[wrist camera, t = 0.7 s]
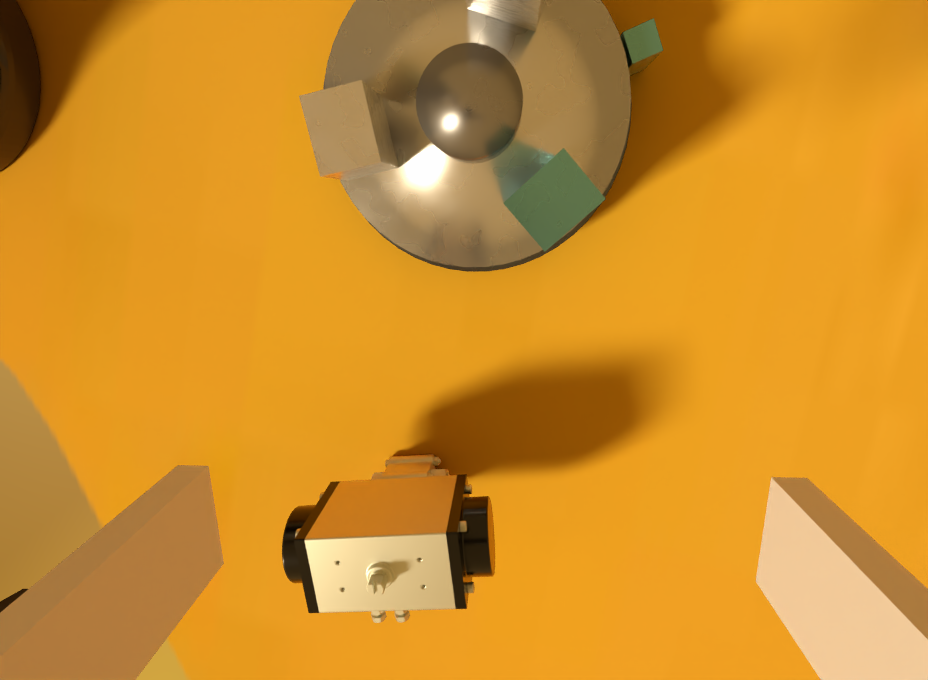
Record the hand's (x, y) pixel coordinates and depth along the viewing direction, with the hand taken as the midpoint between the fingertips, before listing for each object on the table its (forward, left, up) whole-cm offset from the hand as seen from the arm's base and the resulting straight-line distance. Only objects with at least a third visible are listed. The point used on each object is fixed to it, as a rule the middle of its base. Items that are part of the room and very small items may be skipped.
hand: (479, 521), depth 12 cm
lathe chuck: (-10, +7, -20) cm, 24 cm away
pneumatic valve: (+5, -13, -24) cm, 28 cm away
